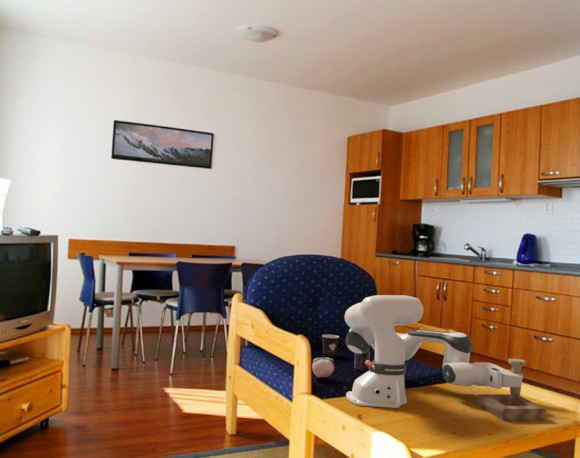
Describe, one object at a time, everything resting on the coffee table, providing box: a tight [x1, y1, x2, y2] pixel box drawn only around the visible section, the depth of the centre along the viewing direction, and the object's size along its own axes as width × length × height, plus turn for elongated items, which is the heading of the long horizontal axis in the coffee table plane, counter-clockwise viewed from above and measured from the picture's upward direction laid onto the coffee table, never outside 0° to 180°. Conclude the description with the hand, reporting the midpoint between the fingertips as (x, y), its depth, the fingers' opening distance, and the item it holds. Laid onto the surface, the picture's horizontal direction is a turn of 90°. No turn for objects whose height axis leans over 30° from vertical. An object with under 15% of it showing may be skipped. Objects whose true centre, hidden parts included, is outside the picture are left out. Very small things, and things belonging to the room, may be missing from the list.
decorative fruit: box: [311, 354, 335, 378], centre depth 213 cm, size 9×8×10 cm
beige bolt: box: [507, 358, 527, 396], centre depth 198 cm, size 5×6×15 cm
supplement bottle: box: [353, 349, 371, 370], centre depth 232 cm, size 7×7×12 cm
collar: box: [477, 393, 546, 422], centre depth 183 cm, size 16×16×4 cm
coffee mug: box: [321, 334, 346, 355], centre depth 256 cm, size 12×9×10 cm
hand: (518, 374), depth 199 cm, fingers closed on beige bolt, 3 cm apart
